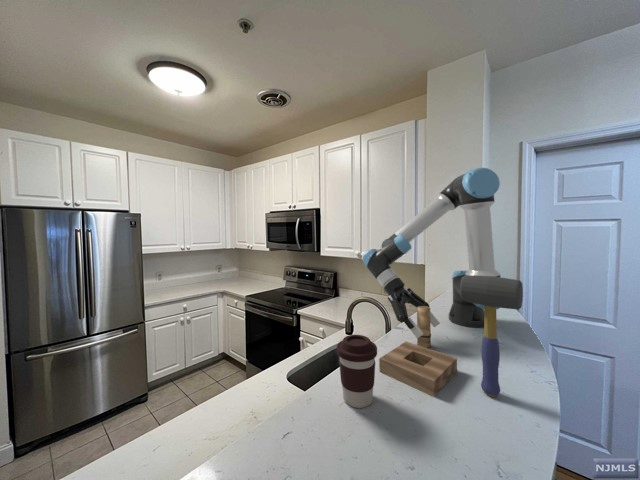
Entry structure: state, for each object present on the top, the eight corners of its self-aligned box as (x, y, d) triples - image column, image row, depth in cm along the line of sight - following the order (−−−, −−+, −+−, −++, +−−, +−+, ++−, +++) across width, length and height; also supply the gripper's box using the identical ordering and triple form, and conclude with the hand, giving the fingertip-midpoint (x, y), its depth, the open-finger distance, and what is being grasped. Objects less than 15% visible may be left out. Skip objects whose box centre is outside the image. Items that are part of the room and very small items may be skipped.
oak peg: (420, 342, 93) (420, 304, 92) (433, 346, 89) (433, 307, 89) (414, 346, 90) (414, 307, 89) (427, 350, 86) (427, 310, 86)
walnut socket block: (406, 352, 85) (406, 341, 85) (457, 371, 73) (457, 358, 73) (379, 371, 74) (379, 358, 74) (434, 396, 62) (433, 381, 62)
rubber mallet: (524, 398, 61) (524, 276, 60) (519, 414, 56) (520, 281, 55) (467, 377, 70) (466, 271, 69) (458, 390, 65) (457, 275, 64)
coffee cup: (364, 382, 69) (363, 329, 68) (386, 406, 60) (385, 344, 59) (331, 392, 65) (330, 335, 65) (349, 418, 56) (348, 352, 56)
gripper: (401, 283, 109) (436, 326, 98) (366, 294, 92) (404, 347, 81) (412, 272, 105) (450, 316, 94) (378, 281, 88) (420, 335, 77)
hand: (429, 330), depth 88 cm, fingers open, 13 cm apart
